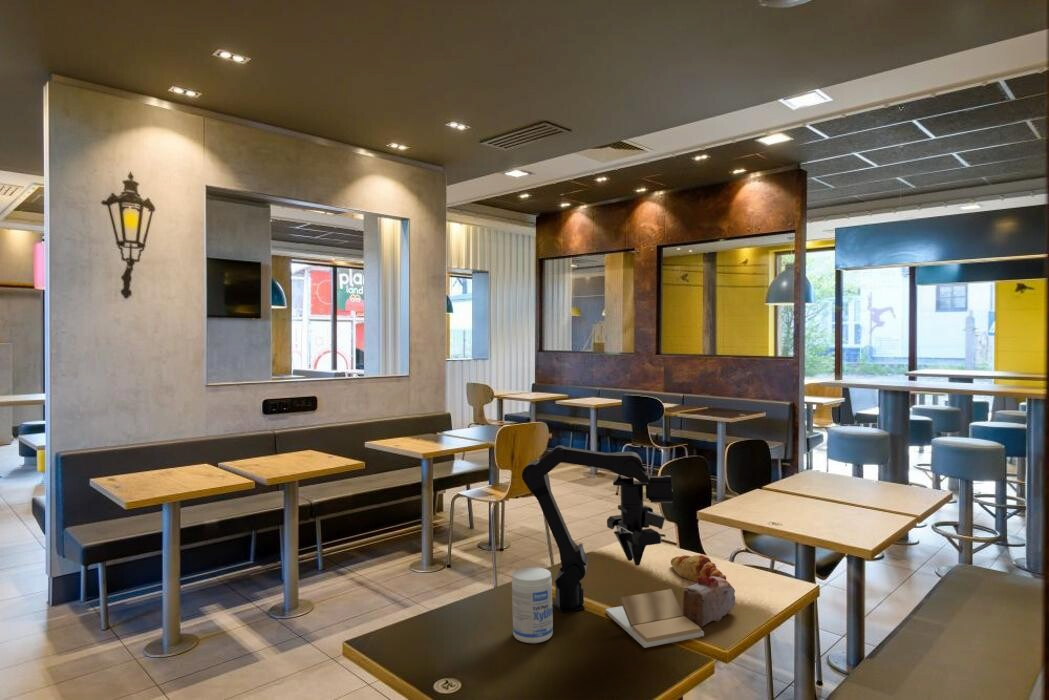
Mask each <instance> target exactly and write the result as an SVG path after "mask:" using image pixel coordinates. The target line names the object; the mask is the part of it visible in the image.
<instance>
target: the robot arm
mask: <svg viewBox="0 0 1049 700" xmlns="http://www.w3.org/2000/svg"><path fill="white" fill-rule="evenodd" d="M561 463H564V464H571V465H578V466H583V467H590V468H597V469H604V470H607V471H610V472H612V473H614V474H616V475H618V476H617V477H616V478H615V479H614V480H612V485H613V486H619V487H620V489H619V490H620V504H618V505H617V509H618V510H619V511H620V512H621V513H620V514H619V515H618V514H616V515H610V516H609V517H607V519H606V527H607V528H609V529H610V530H614V528H615V527H616V530H615V531H613V534H614V535H615V537H616V539H617V541H618V542H619V544H620V547H621V549H622V551H623V553H624V555H625V557H626V559H627V561H629V562H631V561H633V563H634V565H635V566H636V567H637V566H640V565H641V562H642V558H643V555H644V551H645V549H646V547H647V546H652V545H660V544H662V535H661V534H660V533H659V532H658V531H657V530H655V529H653V528H650V526H651V527H655V528H658V529H659V530H662V529H663V526H664V523H665V519H666V517H665V516H663V515H661V514H659V513H657V512H654V510H653V507H650V506H647V505H644V486H645V499H648V501H649V502H650V503H652V504H653V503H655V504H657V503H658V504H661V503H662V504H663V503H664V504H673V503H674V491H673V486H672V476H671V475H670V474H669V475H668V474H666V475H650V473H649V471H647V469H646V468H645V467H644V465H643V459H642V458H641V456H640V455H639V453H637V452H635V451H617V452H616V451H615V452H602V451H597V450H596V451H595V450H589V449H582V448H576V447H568V446H564V445H560V444H559V445H556V446H555V447H554V448H553V449H552V450H551V451H550V452H548V453H547V454H545V455H544V456H543V457H541V458H540V459H538V460H536V459H535V460H531V461H530V462H528V463H527V465H526V466H525V467H524V468H523V469H522V472H521V477H522V481H523V482H524V484H525V486H526V487H527V490H529V492H530V493H531V494H532V495H533V496H534V497H535V498H536V500H537V501H538V504H539V506H540V509H541V511H542V512H543V515H544V518H545V520H546V522H547V526H548V527H549V529H550V532H551V534H552V536H553V538H554V541H555V543H556V546H557V548H558V553H559V558H560V565H561V567H560V568H559V569H558V571H557V575H556V578H555V581H554V584H555V585H554V586H555V587H554V588H555V601H552V605H554V606H555V607H556V608H557V609H558V611H559V612H561V613H569V612H574V611H580V610H585V609H586V607H585V605H584V603H585V601H584V600H585V596H584V595H585V594H584V587H582V586H583V585H582V582H581V581H582V580H583V579H584V578H585V576H586V572H587V568H588V560H589V555H587V553H586V551H585V548H584V545H583V543H580V544H577V543H576V542H575V541H574V540H573V538H572V535H571V533H570V531H569V529H568V526H567V525H566V522H565V520H564V517H563V515H562V512H561V511H560V508H559V506H558V504H557V502H556V499H555V497H554V494H553V492H552V488H551V483H550V475H549V473H550V472H551V471H553V470H554V469H555V467H557V466H558V465H559V464H561ZM634 479H636V480H634Z"/></svg>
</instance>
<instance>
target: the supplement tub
mask: <svg viewBox="0 0 1049 700" xmlns="http://www.w3.org/2000/svg"><path fill="white" fill-rule="evenodd" d="M511 576H512V577H511V598H512V600H511V601H512V603H511V605H512V607H511V608H512V609H511V610H512V633H513V637H514V638H515V639H516V640H517V641H519V642H522V643H525V644H538V643H543V642H545V641H548V640H549V639H550V638H551V637H552V636H553V633H554V625H553V624H554V621H553V620H554V617H553V615H554V613H553V581H552V580H553V579H552V573H551V571H550V570H549V569H546V568H543V567H536V566H531V567H530V566H529V567H522V568H519V569H516V570H514V571H513V572H512V574H511Z"/></svg>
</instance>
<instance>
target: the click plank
mask: <svg viewBox="0 0 1049 700" xmlns="http://www.w3.org/2000/svg"><path fill="white" fill-rule="evenodd" d="M619 601H620V603H621V606H623V609H624V611H625V614H626V616H627V619H628V621H629V624H630V626H631V627H633V626H634V625H639V624H645V623H650V622H656V621H661V620H667V619H672V618H677V617H683V616H684V615H683V610H682V608H681V607H680V604H679V603H678V600H677V598H676V596H675V594H674V592H673V590H672V588H669V589H662V590H657V591H652V592H645V593H638V594H634V595H628V596H621V597H620V598H619Z"/></svg>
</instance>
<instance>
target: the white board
mask: <svg viewBox="0 0 1049 700" xmlns="http://www.w3.org/2000/svg"><path fill="white" fill-rule="evenodd" d="M605 614H607V616H608V617H610V618H611V619H612V620H613V621H614V622H615V623H616V624H617V625H619V626H620V627H621V628H622V629H623V630H624V631H625V632H627V633H628V634H629V635H630V636H631V637H632V638H633V639H634V640H635V641H636V642H637V643H639V644H640V645H641V646H642V647H643V648H644V649H645V648H650V647H656V646H660V645H665V644H671V643H675V642H681V641H685V640H686V641H687V640H692V639H696V638H697V639H698V638H701V636H702V637H704V636H705V631H704V630H702V627H700V626H698V625H696V624H695V623H693V622H692V621H691V620H689V619H688V618H686V617H685V616H683V617H677V618H672V619H667V620H661V621H656V622H650V623H645V624H639V625H634V626H633V627H631V626H630V624H629V621H628V619H627V616H626V614H625V611H624V609H623V606H622V605H620V606H615V607H610V608H605Z"/></svg>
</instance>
